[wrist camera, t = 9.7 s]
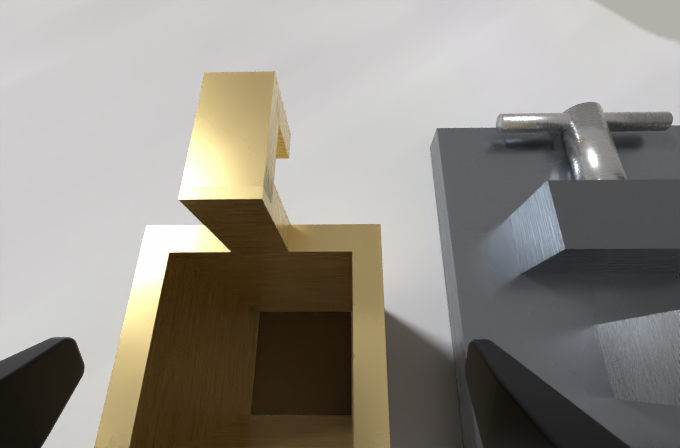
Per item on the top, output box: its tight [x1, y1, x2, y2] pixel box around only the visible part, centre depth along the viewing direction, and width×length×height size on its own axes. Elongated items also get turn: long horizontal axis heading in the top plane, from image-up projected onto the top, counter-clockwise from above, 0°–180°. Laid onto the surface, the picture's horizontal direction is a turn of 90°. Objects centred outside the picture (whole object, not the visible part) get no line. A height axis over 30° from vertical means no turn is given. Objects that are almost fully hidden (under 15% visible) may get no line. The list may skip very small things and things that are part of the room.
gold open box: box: [94, 72, 390, 448], centre depth 9 cm, size 7×5×10 cm
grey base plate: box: [430, 102, 680, 448], centre depth 11 cm, size 20×12×5 cm, turn 0°
